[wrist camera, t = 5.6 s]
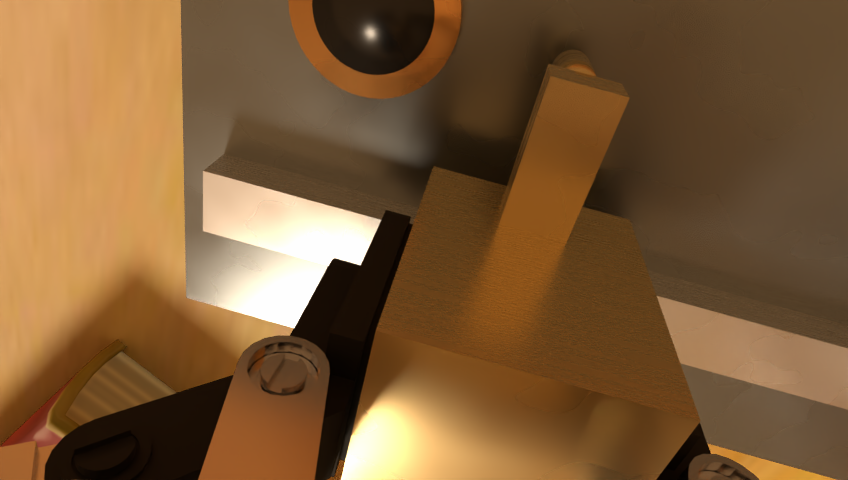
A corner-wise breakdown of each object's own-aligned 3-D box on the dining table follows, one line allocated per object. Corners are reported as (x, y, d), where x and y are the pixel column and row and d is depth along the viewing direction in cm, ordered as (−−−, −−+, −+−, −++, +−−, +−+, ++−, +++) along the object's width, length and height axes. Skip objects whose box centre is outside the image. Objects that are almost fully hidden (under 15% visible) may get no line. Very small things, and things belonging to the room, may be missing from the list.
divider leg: (684, 79, 10) (841, 237, 5) (543, 370, 14) (554, 613, 9) (471, 21, 10) (424, 123, 5) (393, 328, 14) (325, 547, 9)
